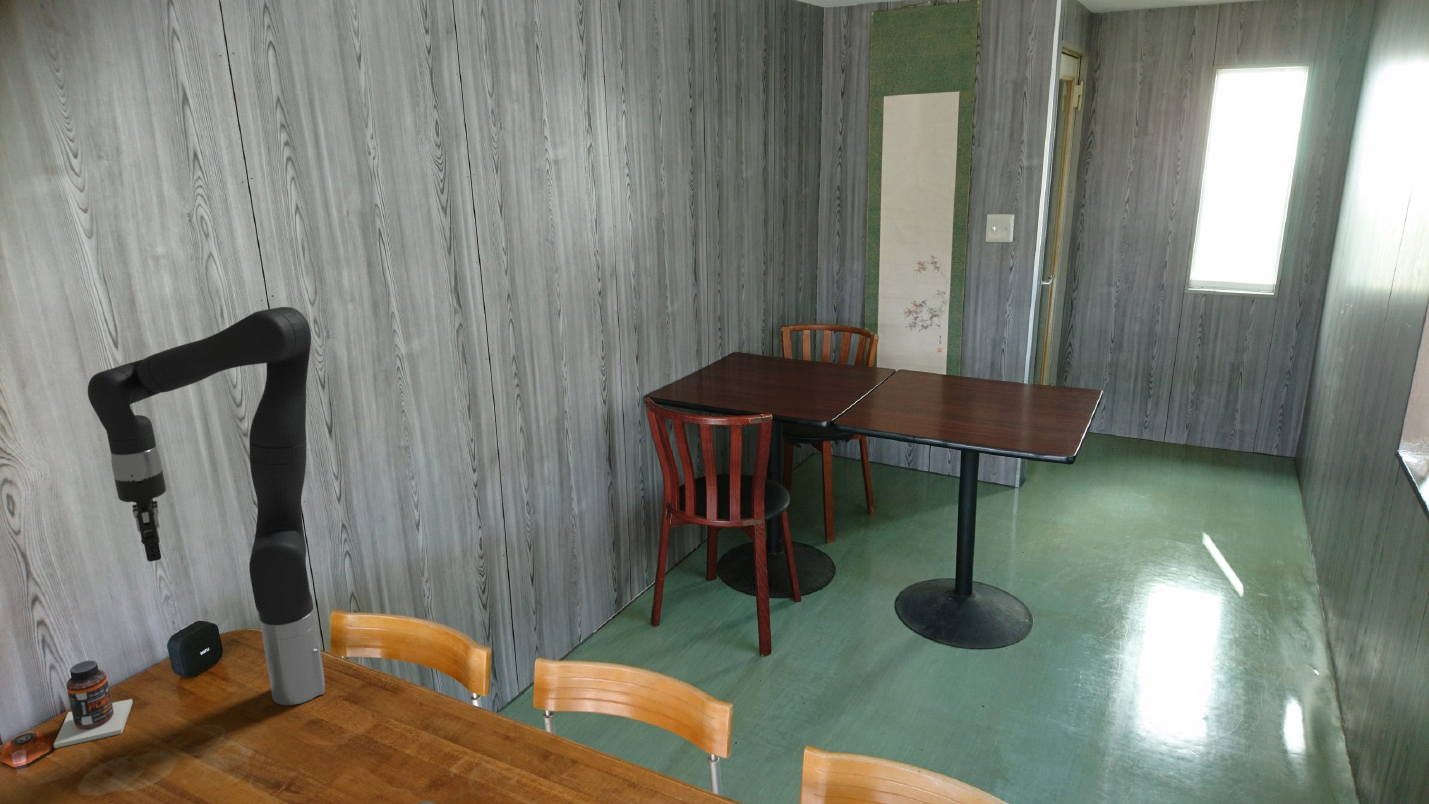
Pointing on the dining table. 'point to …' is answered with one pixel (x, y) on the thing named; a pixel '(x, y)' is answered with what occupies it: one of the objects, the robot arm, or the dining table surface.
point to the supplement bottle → (89, 695)
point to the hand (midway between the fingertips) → (153, 551)
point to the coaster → (111, 727)
